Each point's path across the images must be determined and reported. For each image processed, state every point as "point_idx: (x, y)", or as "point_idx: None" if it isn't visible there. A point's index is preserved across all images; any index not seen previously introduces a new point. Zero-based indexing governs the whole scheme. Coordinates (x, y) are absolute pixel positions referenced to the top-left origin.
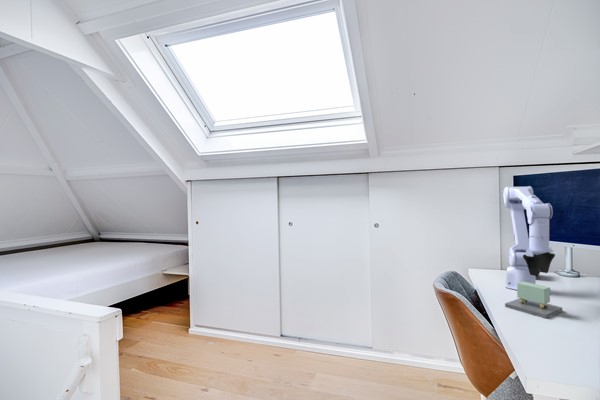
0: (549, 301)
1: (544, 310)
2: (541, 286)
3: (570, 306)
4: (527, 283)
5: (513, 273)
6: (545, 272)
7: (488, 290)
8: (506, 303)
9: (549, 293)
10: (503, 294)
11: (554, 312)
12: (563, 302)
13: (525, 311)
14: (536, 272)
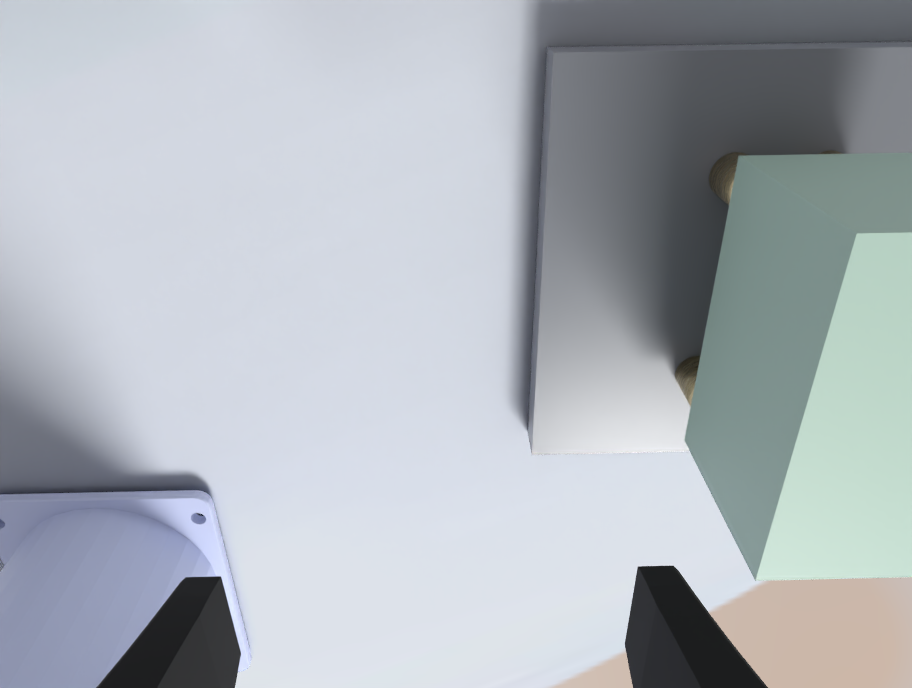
0: (758, 157)
1: (878, 126)
2: (908, 332)
3: (250, 67)
4: (844, 511)
5: None
6: (220, 600)
7: (477, 677)
8: None
9: (813, 195)
10: (481, 583)
11: (791, 46)
12: (166, 185)
13: None
14: (714, 632)
